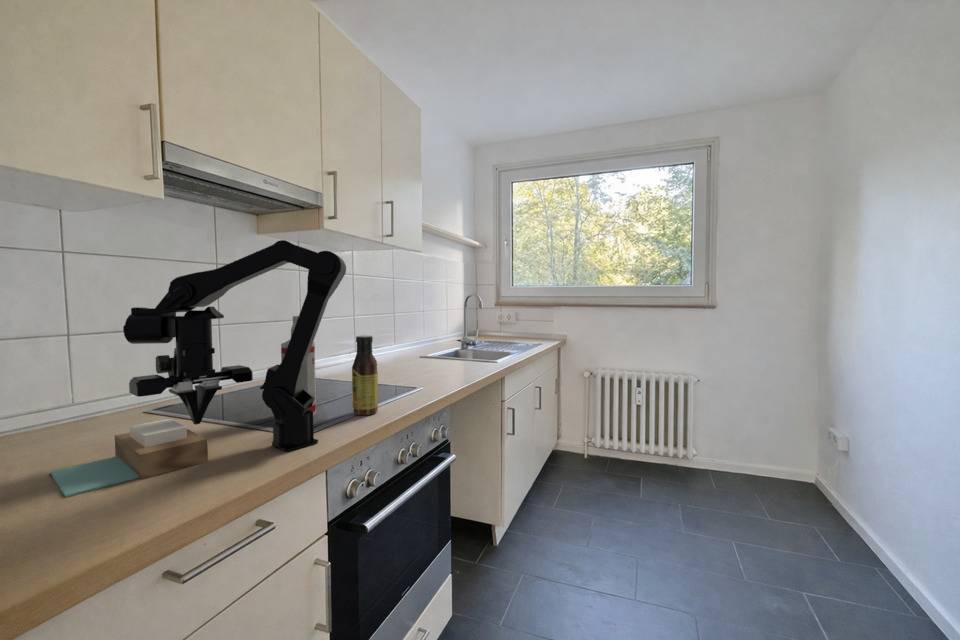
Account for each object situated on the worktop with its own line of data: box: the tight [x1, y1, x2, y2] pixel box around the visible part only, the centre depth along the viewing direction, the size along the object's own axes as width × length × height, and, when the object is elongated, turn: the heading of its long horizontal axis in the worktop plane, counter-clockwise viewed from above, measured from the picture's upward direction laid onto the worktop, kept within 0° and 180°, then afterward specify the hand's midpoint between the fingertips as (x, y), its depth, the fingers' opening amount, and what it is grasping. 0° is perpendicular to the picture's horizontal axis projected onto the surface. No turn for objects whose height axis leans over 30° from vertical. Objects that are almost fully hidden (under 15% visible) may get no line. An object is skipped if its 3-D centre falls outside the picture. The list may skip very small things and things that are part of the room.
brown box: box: [114, 428, 209, 480], centre depth 75 cm, size 10×16×4 cm, turn 52°
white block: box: [129, 418, 188, 447], centre depth 74 cm, size 6×9×2 cm, turn 52°
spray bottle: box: [280, 315, 317, 416], centre depth 104 cm, size 8×8×25 cm
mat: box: [49, 456, 140, 498], centre depth 68 cm, size 9×14×1 cm, turn 52°
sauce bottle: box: [351, 334, 379, 416], centre depth 105 cm, size 6×6×20 cm
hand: (196, 423), depth 79 cm, fingers closed
